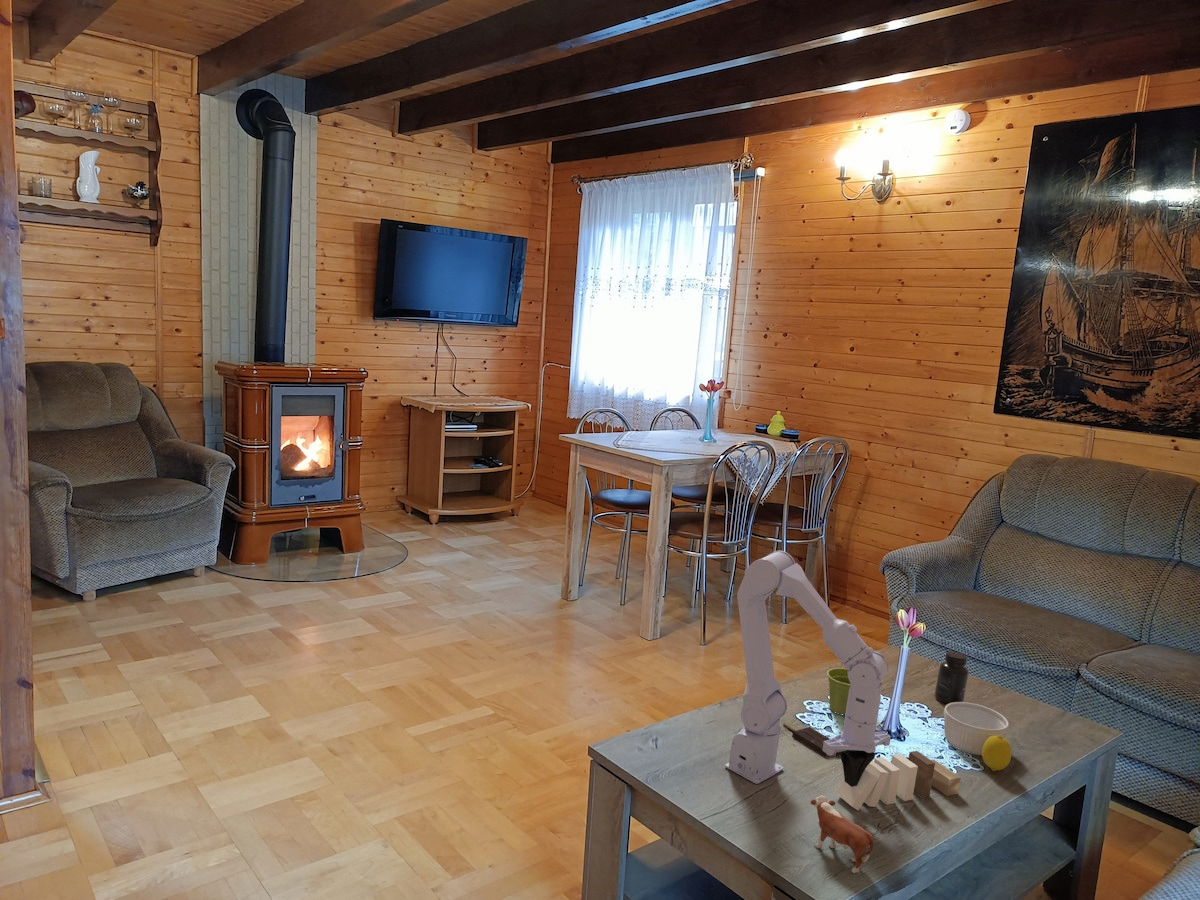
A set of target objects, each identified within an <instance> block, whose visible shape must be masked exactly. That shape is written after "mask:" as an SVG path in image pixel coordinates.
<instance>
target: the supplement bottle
mask: <svg viewBox="0 0 1200 900" xmlns="http://www.w3.org/2000/svg"><path fill="white" fill-rule="evenodd" d="M967 659H968V657H967V656H966V654H963V653H961V652H958V651H947V652H946V653H945V657H944V661H943V662H941V663H940V664H939V668H938V672H937V673H938V674H937V679H936V683H935V684H936V685H935V689H934V690H935V691H934V697H935V699H936V701H938V702H939V703H942V704H944V705H948V704H950V703H954V702H965V698H966V697H965V696H966V691H967V685H968V681H969V680H968V679H969V674H970V672H969V669H968V667H967V666H966V665H967V661H968V660H967Z"/></svg>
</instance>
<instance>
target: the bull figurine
mask: <svg viewBox="0 0 1200 900" xmlns="http://www.w3.org/2000/svg"><path fill="white" fill-rule="evenodd" d="M810 804H811V805H812V806H814V807H815V808H816V809H817V810H816V813H817V816H818V825H819V828H820V836H819V838H818V839H819V840H818V841H817V843H815V844H814V846H813V847H814V848H816V849H823V843H824V842H825V841H826V838H830V839H831V842H830V844H828V847H829V848H830V849H834V848H837V845H836V843H837V844H839V845H840V846H842V847H843V850H847V849H848V848H850V849H851V850H852V852H853V856H852V857H850V858H849V859H850V861H851V862H852V863H855V866H854V867H852V869H851V870H850V873H852V874H856V873H859V872H860V868H861V865H862V864H863V863H866V862H868V860H869V858H870V856H871V853H872V852H873V851H874V848H875V842H874V836H873V835H872V834H871V833H870V832H868V831H867V830H865V829H864V827H862V826H860V825H858V824H856V823H854V822H852V820H849V819H848V818H847V817H845V816H844V815H843V814H842V813H841V812H839V810H837V809H835V808H834V806H835V805H836V801H835V800H828V798H827V797H826V795H819V796H816V797H815V799H811V801H810ZM867 850H868V851H867Z"/></svg>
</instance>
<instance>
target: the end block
mask: <svg viewBox="0 0 1200 900" xmlns="http://www.w3.org/2000/svg"><path fill="white" fill-rule="evenodd" d="M930 760H931V761H933V762H934V763H935V767H934V773H933V779H932V784H931V787H934V788H936V790H938V791H939V792H941V793H942V794H943V795H945V796H946V797H948V796H952V795H958V794H959V790H960V785H961V780H962V777H961V776H960V775H958V774H956V772H953V771H952V770H950V769H949V768H948V767H946V765H945V766H944V765H943V764H942V763H940V762H939V761H938V760H936V759H930Z"/></svg>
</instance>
